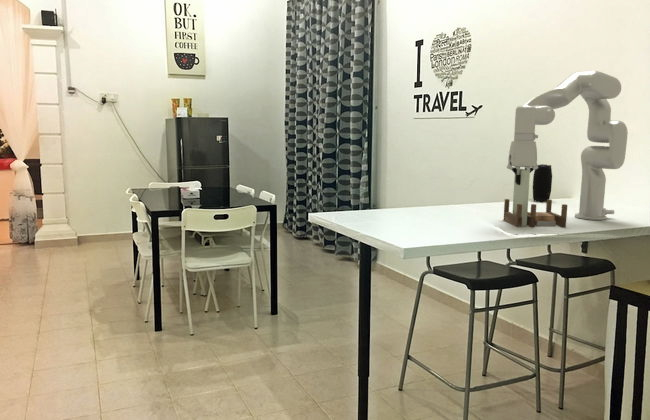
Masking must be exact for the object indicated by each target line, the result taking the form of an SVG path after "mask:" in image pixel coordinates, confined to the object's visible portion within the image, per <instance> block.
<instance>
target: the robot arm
mask: <svg viewBox="0 0 650 420" xmlns="http://www.w3.org/2000/svg"><path fill="white" fill-rule="evenodd" d="M621 91H622V83H621V82H620V80H619V79H618V78H617V77H615V76H612V75H610V74H608V73H604V72H603V71H599V70H586V71H577V72H574V73H572V74H570V75H569V76H567V77H566V78H565V79H564V80H563V81H562V82H561V83H560V84H558V85H557V86H556V87H554V88H552V89H550V90H548V91H546V92H543V93H541V94H539V95H537V96H534V97H532V98H531V99H530V100H529V101H527V102H526V103H525V104H524V105H519V106H517V107H516V108H515V114H514V115H515V116H514V133H513V134H514V135H513V136H514V137H513V140H512V141H511V142H510V147H509V152H508V157H507V158H508V159H507V160H508V161H507V165H506V169H507V170H510V171H512V172H513V173H514V177H515V182H516V184H517V185H520V180H521V175H520V169H521V168H524V170H529V171H530V174H531V173H532V172H533V171H535V170H536V169H538V165H539V164H538V163H537V162H538V149H537V142H536V141H535V140H536V139H538V138H539V135H538V134H536V133H535V132H536V126H546V125H549V124H551V123H552V122H553V121H554V120H555V117H556V113H555V110H556V109H561V108H564V107H566V106H568V105H570V104H571V103H572V102H573V101H574V100H575V99H576V98H578V97H579V96H581V98H582V100H584V101H585V103H586V105H587V108H588V119H587V129H586V132H587V133H586V134H587V135H586V137H587V139H588V141H589V142H592V143H597V144H608V146H606V145H589V146H587V147H585V148H583V150H582V151H581V154H580V161H581V183H580V184H581V185H580V194H579V195H580V196H579V209H578V212H577V213H575V214H574V217H575V218H577V219H583V220H589V221H591V220H592V221H604V220H607V215H614V214H615V209H606V208H604V205H605V194H606V193H605V192H606V184H607V183H606V182H607V178H606V175H605V172H604V169H605V170H619V169H620V168H622V167H623V165H624V164H625V160H626V151H627V143H628V136H629V135H628V127H627V125H626V124H625V123H624V121H622V120H614V119H613V120H611V119H612V118H611V116H612V107H611V105H610V102H609V101H608V100H612V99H615V98H617V97H618V96H619V95H620V94H621ZM515 174H516V176H515Z"/></svg>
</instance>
